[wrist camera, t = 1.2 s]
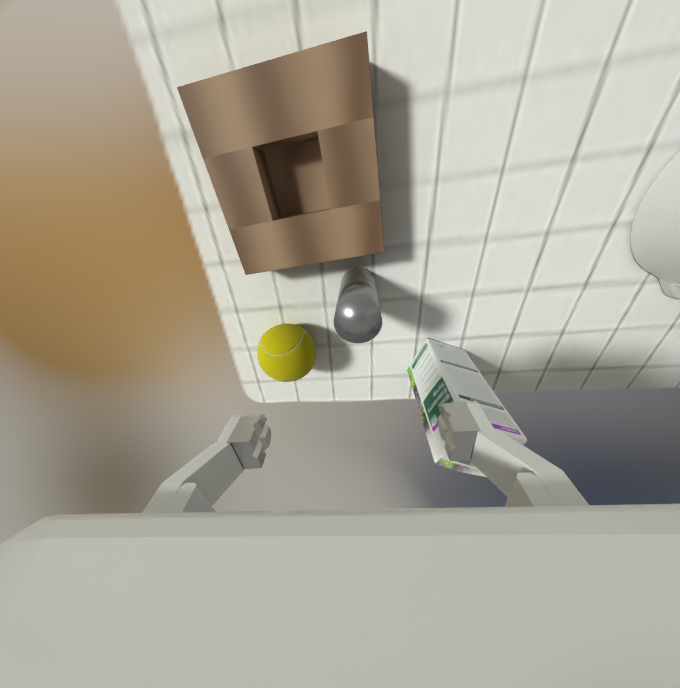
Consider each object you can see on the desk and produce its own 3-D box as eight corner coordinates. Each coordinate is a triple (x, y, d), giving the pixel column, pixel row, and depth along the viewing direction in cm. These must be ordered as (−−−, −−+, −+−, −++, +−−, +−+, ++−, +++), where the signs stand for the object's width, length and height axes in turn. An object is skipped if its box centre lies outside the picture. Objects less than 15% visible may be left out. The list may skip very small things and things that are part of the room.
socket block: (365, 59, 20) (366, 31, 16) (381, 244, 27) (384, 252, 23) (205, 103, 22) (177, 87, 18) (259, 265, 29) (245, 274, 25)
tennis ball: (262, 316, 32) (240, 344, 26) (314, 312, 32) (304, 340, 26) (275, 360, 36) (258, 394, 30) (323, 358, 35) (315, 392, 29)
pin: (373, 264, 28) (379, 296, 19) (377, 298, 30) (383, 340, 21) (338, 270, 28) (329, 303, 20) (344, 302, 31) (338, 345, 22)
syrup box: (425, 336, 32) (467, 426, 20) (466, 349, 33) (531, 444, 20) (406, 369, 35) (431, 465, 23) (444, 380, 36) (489, 480, 23)
